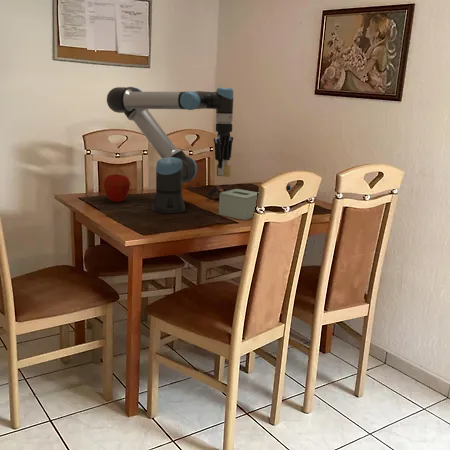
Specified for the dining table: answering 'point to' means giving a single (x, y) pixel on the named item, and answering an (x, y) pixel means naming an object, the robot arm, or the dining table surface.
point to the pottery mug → (215, 191)
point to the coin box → (237, 204)
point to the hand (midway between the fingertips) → (222, 174)
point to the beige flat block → (225, 171)
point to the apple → (116, 187)
